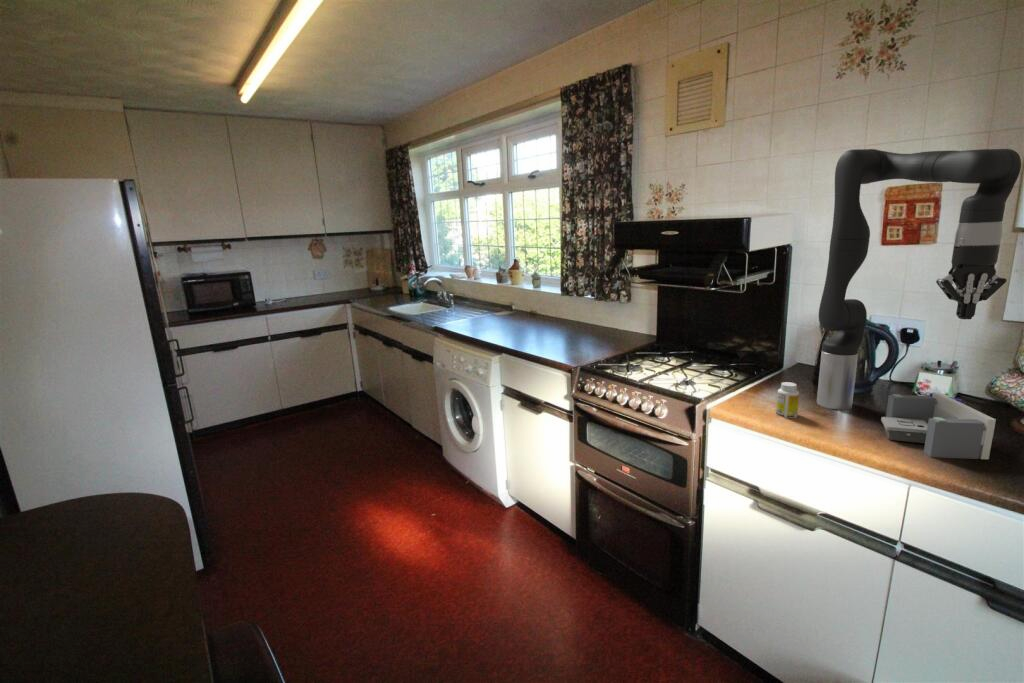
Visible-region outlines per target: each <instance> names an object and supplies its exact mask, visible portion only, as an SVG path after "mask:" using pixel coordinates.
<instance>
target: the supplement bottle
mask: <svg viewBox="0 0 1024 683" xmlns="http://www.w3.org/2000/svg"><path fill="white" fill-rule="evenodd" d="M797 388H798V386H797V384H796V383H795V382H790V381H785V382H783V381H782V382H781V384H780V388H779V389H777V394H776V395H777V396H776V411H775V414H776V415H777V416H779V417H780V418H781V417H782V418H786V419H794V418H797V417H798V413H799V412H798V411H799V401H800V400H799V398H800V391H799V390H797Z"/></svg>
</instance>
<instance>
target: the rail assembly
mask: <svg viewBox="0 0 1024 683" xmlns="http://www.w3.org/2000/svg"><path fill="white" fill-rule="evenodd" d="M932 393H933V395H932V396H930V395H913V394H912V395H911V394H910V395H909V394H908V395H907V394H906V395H904V394H899V393H892V394H889V395H888V398H887V406H886V412H885V417H893V418H906V419H918V420H924V421H926V423H927V424H928V427H927V434H926V440H925V443H924V448H923V453H924V454H925V455H926V456H928V457H929V458H939V459H940V458H942V459H970V460H971V459H972V460H979V459H980V460H989V459H990V454H991V448H992V442H993V438H994V432H995V426H996V421H997V419H996V418H993V417H992V416H989V415H988V414H985V413H984V412H982V411H979V410H977V409H974V408H973V407H971V406H968V405H966V404H964V403H960V402H958V401H956V400H954V399H952V398H953V397H952V398H950V397H951V396H949V395H948V396H947V395H946V394H944V393H942V392H940V391H939V392H938V391H935V392H933V391H932Z"/></svg>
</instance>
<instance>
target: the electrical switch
mask: <svg viewBox="0 0 1024 683" xmlns="http://www.w3.org/2000/svg"><path fill="white" fill-rule="evenodd" d="M880 421H881V423H882V424H883V427H884V432H885V435H886V437H887V438H888V439H887V440H890V441H899V442H909V443H919V444H925V440H926V434H927V427H928V424H927V423H926V421H924V420H918V419H906V418H893V417H886V416H881V419H880Z"/></svg>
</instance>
